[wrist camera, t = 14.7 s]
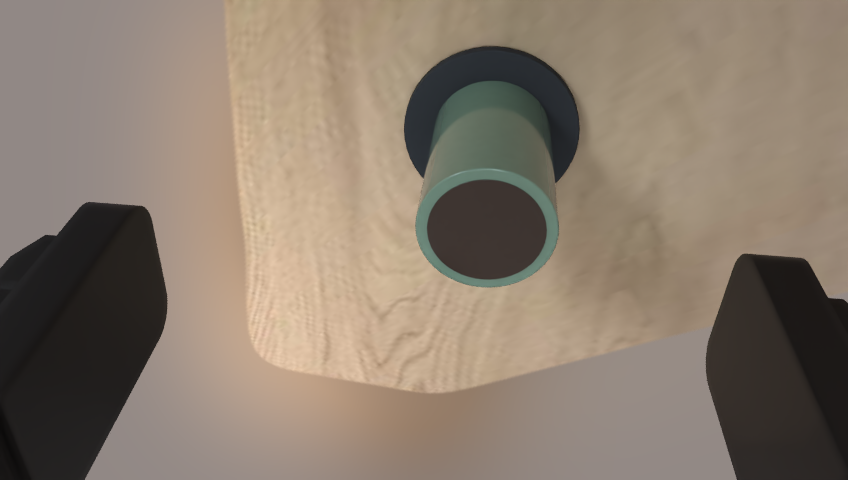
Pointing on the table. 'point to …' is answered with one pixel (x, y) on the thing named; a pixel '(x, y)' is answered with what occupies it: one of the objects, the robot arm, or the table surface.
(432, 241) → the cup
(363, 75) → the table surface
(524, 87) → the coaster
